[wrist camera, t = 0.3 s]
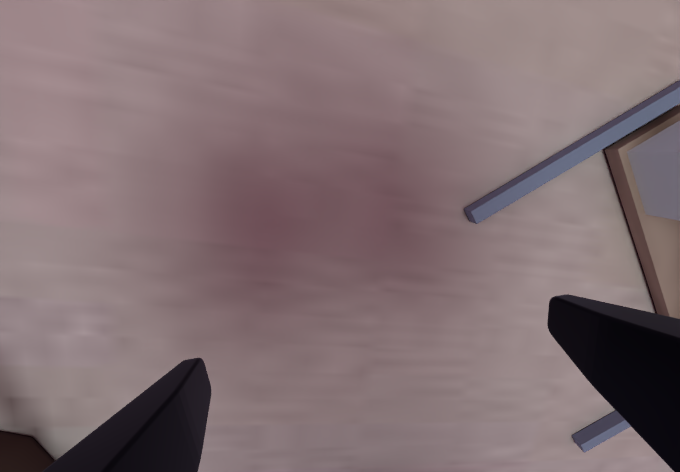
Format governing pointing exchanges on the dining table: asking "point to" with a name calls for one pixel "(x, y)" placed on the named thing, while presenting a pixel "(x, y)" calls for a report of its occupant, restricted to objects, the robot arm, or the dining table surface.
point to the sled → (650, 221)
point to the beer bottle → (22, 454)
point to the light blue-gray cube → (659, 172)
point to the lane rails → (557, 166)
